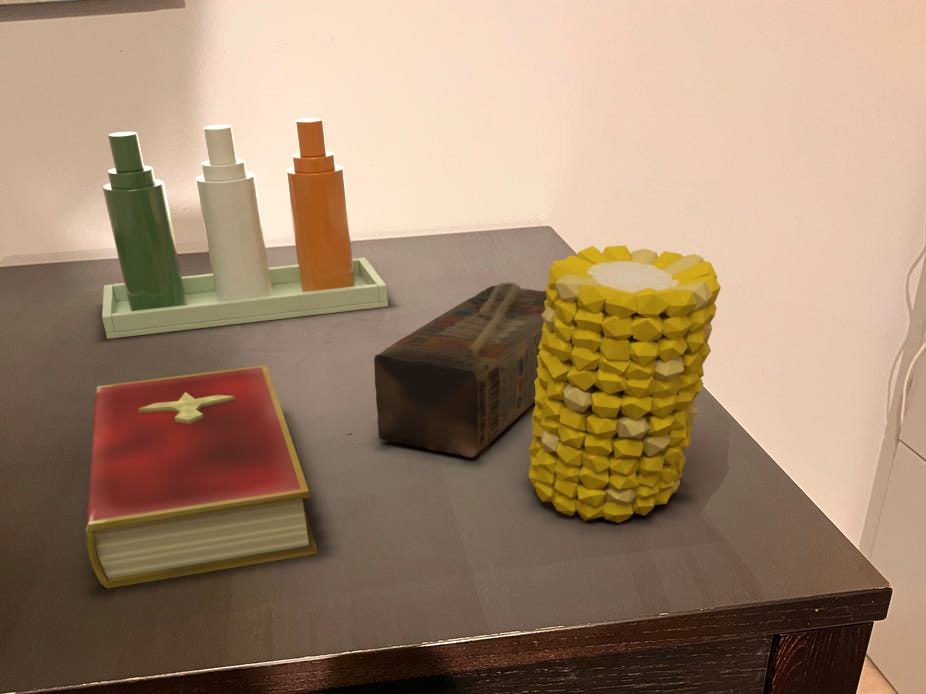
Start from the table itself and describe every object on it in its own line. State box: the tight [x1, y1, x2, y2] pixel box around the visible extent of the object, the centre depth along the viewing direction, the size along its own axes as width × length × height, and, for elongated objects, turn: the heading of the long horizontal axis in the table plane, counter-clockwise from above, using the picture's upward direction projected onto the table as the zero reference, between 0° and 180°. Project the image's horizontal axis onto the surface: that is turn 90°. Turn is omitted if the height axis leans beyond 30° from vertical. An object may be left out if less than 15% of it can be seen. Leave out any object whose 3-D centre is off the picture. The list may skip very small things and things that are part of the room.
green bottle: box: [102, 131, 187, 311], centre depth 91 cm, size 5×5×15 cm
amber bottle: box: [285, 117, 355, 292], centre depth 94 cm, size 5×5×15 cm
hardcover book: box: [85, 364, 319, 589], centre depth 63 cm, size 12×21×4 cm, turn 16°
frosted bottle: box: [195, 124, 272, 302], centre depth 92 cm, size 5×5×15 cm
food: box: [528, 245, 722, 524], centre depth 58 cm, size 15×12×10 cm
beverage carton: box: [373, 281, 547, 459], centre depth 73 cm, size 8×19×7 cm, turn 155°
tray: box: [101, 257, 389, 340], centre depth 96 cm, size 26×11×2 cm, turn 106°
